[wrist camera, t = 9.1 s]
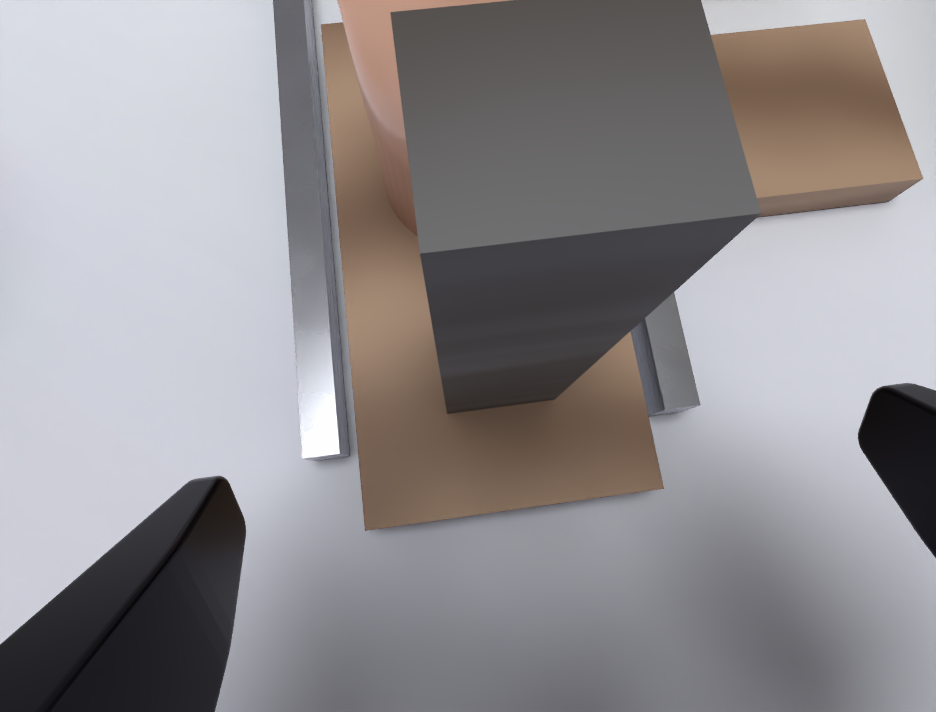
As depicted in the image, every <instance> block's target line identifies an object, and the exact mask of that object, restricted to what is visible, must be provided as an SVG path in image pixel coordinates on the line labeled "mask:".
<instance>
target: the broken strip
mask: <svg viewBox="0 0 936 712" xmlns="http://www.w3.org/2000/svg"><path fill="white" fill-rule="evenodd" d="M711 38H712V42H713V45H714V49H715V52H716V56H717V59H718V63H719V66H720V70H721V73H722V77H723V80H724V84H725V87H726V91H727V94H728V98H729V102H730V105H731V109H732V112H733V116H734V119H735V123H736V126H737V130H738V133H739V137H740V140H741V144H742V147H743V151H744V154H745V158H746V162H747V165H748V169H749V172H750V176H751V179H752V183H753V186H754V190H755V193H756V197H757V200H758V204H759V207H760V211H761V214H760V215H759V216H758V217H762V216H771V215H779V214H788V213H796V212H805V211H813V210H821V209H830V208H838V207H847V206H855V205H864V204H872V203H881V202H889V201H890V200H892V199H893V198H895V197H896V196H898V195H899V194H901V193H902V192H904V191H905V190H907V189H908V188H910V187H911V186H913V185H914V184H916V183H917V182H919V181H920V180H922V179H923V177H922V174H921V171H920V169H919V166H918V163H917V161H916V158H915V155H914V152H913V150H912V147H911V144H910V141H909V139H908V136H907V133H906V130H905V128H904V125H903V122H902V119H901V117H900V114H899V111H898V108H897V106H896V103H895V100H894V97H893V95H892V92H891V89H890V86H889V84H888V81H887V78H886V75H885V73H884V70H883V67H882V65H881V62H880V59H879V56H878V54H877V51H876V48H875V45H874V43H873V40H872V37H871V34H870V32H869V29H868V26H867V23H866V21H865V19H864V20H854V21H844V22H834V23H824V24H815V25H805V26H795V27H785V28H775V29H766V30H756V31H746V32H736V33H726V34H716V35H711Z"/></svg>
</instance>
